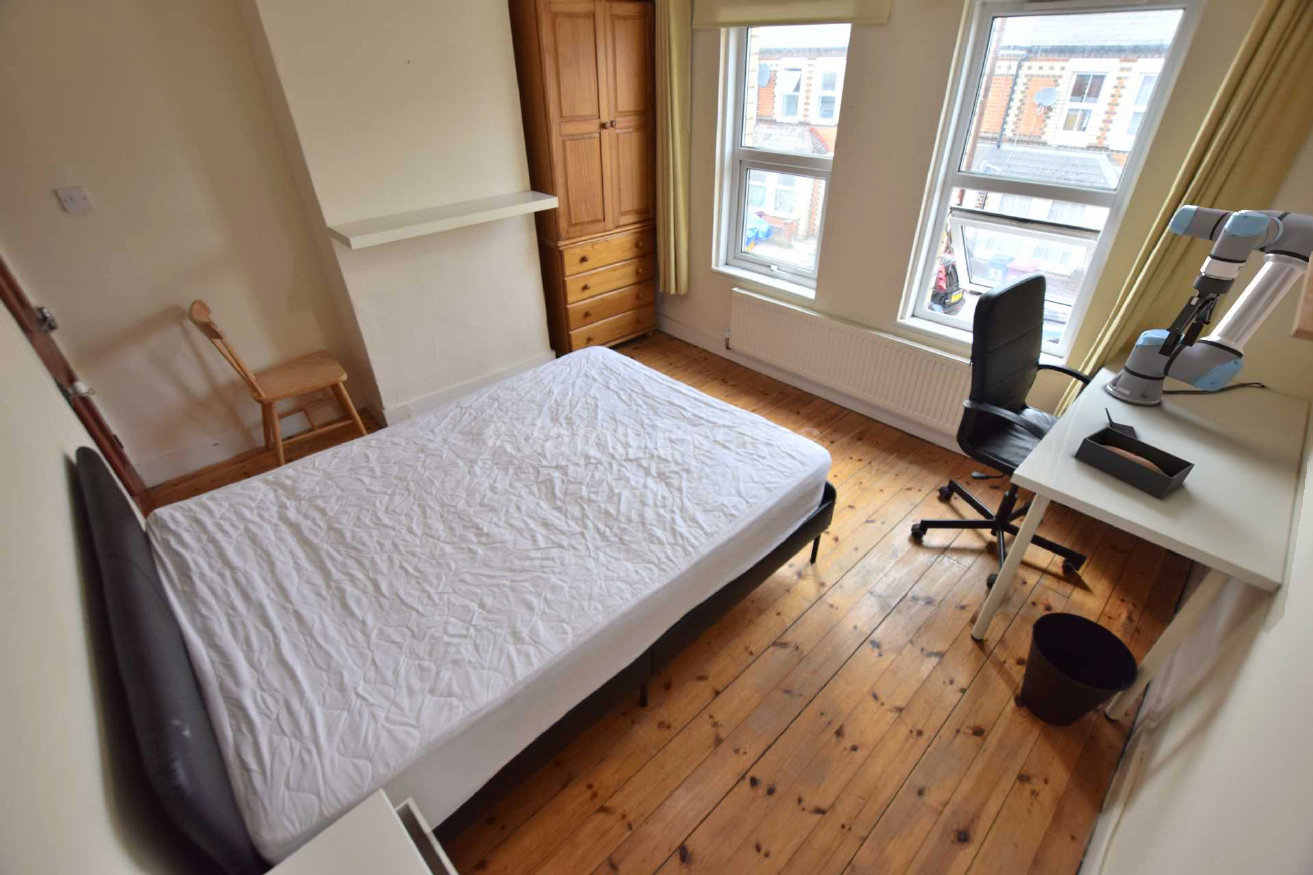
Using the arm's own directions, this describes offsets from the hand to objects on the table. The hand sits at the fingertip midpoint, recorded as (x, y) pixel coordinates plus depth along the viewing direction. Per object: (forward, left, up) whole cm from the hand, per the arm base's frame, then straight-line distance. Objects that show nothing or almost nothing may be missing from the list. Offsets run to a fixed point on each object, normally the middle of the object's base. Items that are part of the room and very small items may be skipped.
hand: (1175, 350), depth 162 cm
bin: (+20, +9, -29) cm, 36 cm away
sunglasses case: (+20, +8, -28) cm, 35 cm away
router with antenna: (+2, -2, -29) cm, 29 cm away
